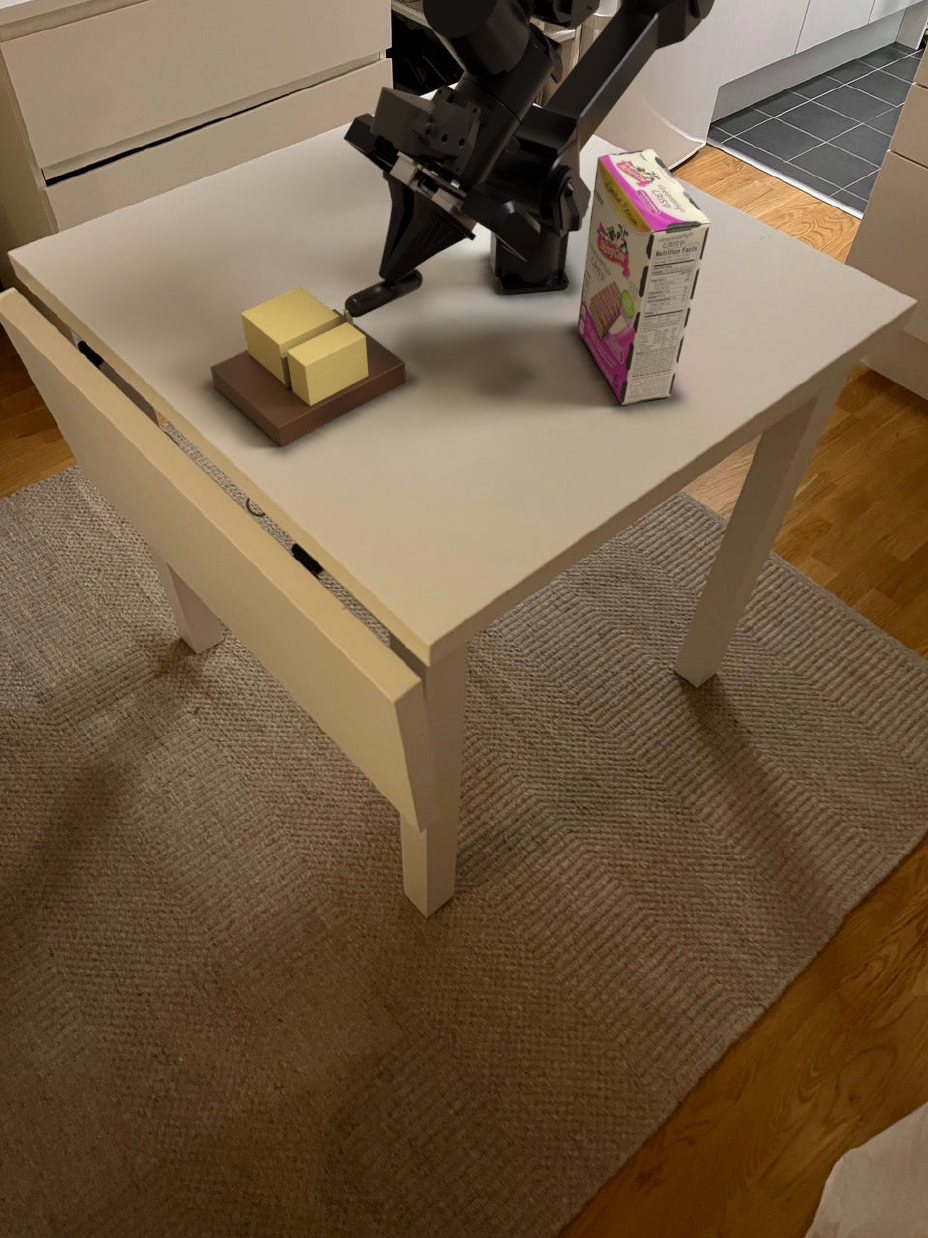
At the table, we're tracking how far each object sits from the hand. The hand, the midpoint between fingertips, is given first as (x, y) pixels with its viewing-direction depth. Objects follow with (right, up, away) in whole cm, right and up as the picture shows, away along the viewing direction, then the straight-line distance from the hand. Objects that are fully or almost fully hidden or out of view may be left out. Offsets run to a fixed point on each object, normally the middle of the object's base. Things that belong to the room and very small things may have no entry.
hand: (384, 279), depth 79 cm
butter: (-7, -6, +2) cm, 9 cm away
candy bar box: (+20, -5, +6) cm, 22 cm away
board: (-7, -8, +4) cm, 11 cm away
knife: (-3, -5, +3) cm, 6 cm away
